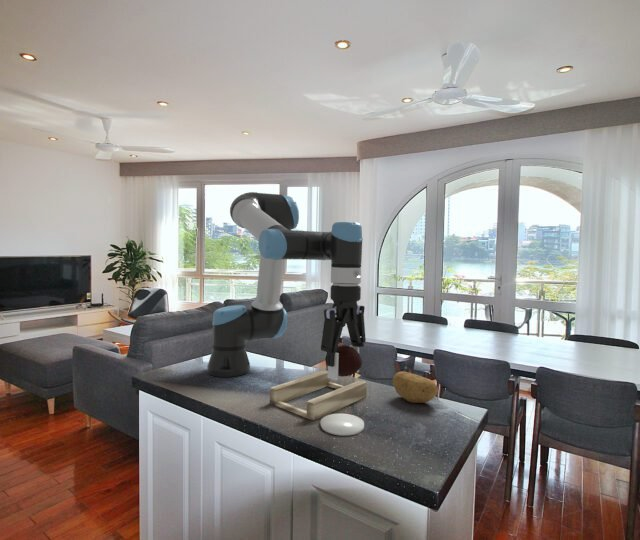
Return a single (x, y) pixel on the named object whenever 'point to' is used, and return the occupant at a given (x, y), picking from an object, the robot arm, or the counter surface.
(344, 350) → the dark brown rounded piece
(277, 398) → the cradle
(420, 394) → the potato
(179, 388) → the counter surface
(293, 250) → the robot arm
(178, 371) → the counter surface
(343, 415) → the plate
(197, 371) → the counter surface
